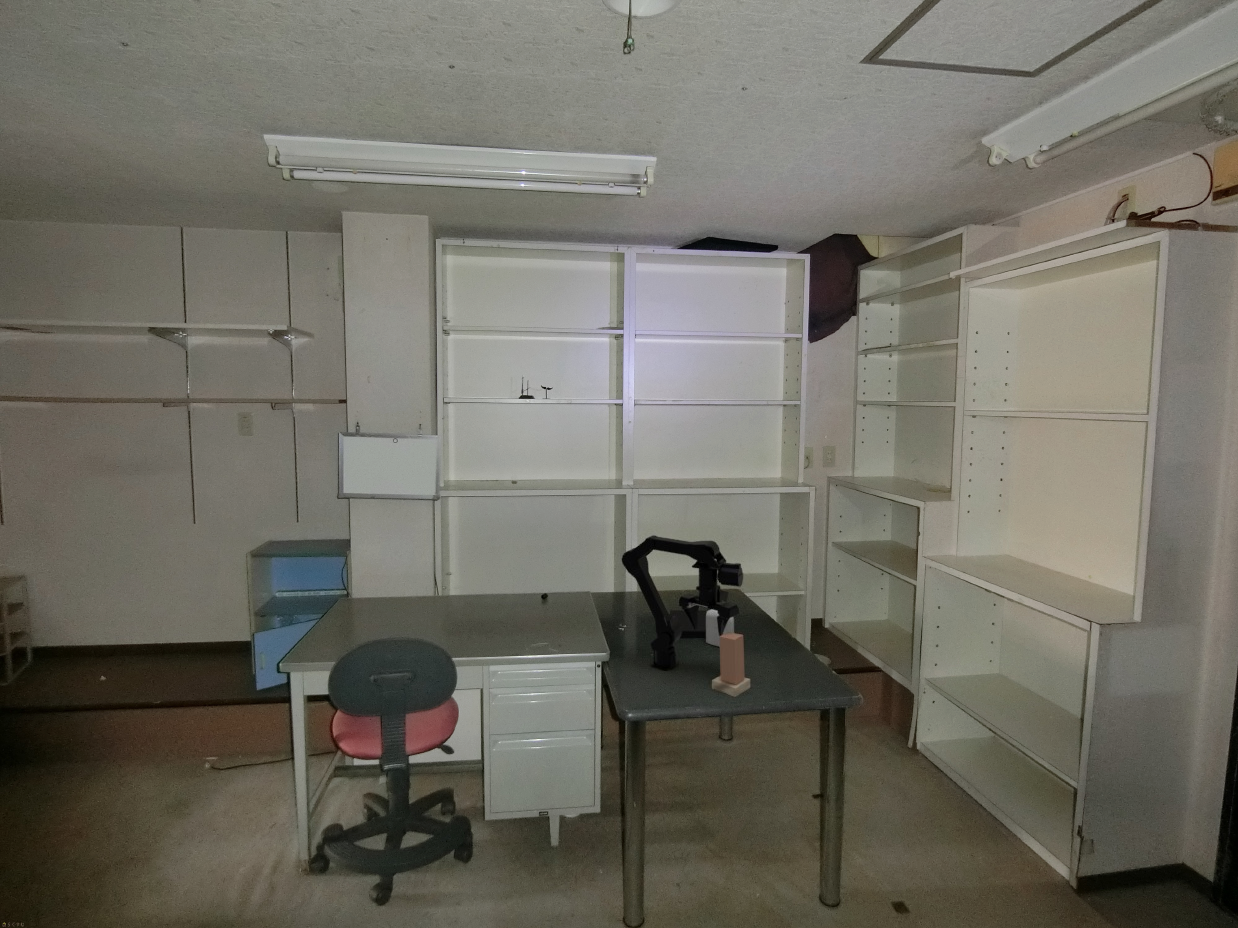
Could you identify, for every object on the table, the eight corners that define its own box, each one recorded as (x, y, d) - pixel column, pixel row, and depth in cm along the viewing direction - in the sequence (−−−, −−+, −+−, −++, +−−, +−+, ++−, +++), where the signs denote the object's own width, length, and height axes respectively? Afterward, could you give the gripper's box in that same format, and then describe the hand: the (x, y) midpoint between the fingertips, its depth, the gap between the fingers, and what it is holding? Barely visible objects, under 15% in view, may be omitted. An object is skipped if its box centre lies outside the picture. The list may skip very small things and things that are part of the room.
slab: (711, 690, 185) (711, 680, 184) (726, 681, 190) (726, 671, 190) (735, 698, 179) (735, 688, 179) (750, 688, 185) (750, 679, 185)
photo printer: (703, 643, 220) (704, 608, 219) (711, 639, 223) (711, 605, 222) (729, 650, 213) (729, 615, 212) (736, 647, 216) (736, 611, 215)
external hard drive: (671, 639, 225) (671, 631, 225) (670, 617, 248) (670, 610, 248) (711, 639, 224) (711, 631, 224) (706, 617, 247) (706, 610, 247)
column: (720, 680, 184) (719, 636, 183) (729, 675, 188) (728, 631, 187) (735, 684, 181) (734, 639, 180) (744, 678, 184) (743, 634, 184)
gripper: (748, 582, 192) (748, 632, 194) (698, 572, 205) (698, 619, 206) (728, 590, 184) (728, 642, 185) (677, 579, 196) (677, 628, 198)
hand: (708, 632), depth 194 cm, fingers open, 9 cm apart
